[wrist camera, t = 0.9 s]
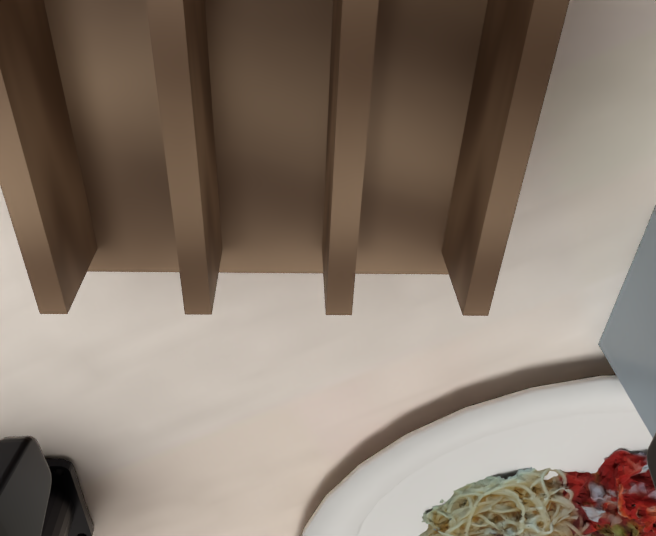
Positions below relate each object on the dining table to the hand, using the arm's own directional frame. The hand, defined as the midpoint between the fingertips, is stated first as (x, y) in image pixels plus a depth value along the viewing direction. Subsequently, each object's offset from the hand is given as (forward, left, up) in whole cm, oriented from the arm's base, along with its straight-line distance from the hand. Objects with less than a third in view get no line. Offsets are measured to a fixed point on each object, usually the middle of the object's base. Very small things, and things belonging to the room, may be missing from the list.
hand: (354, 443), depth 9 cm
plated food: (-26, -14, -14) cm, 33 cm away
